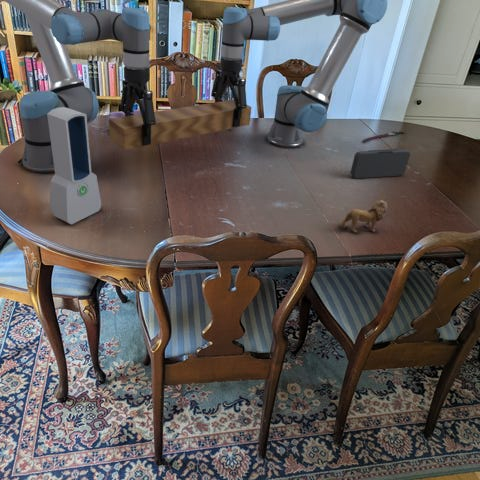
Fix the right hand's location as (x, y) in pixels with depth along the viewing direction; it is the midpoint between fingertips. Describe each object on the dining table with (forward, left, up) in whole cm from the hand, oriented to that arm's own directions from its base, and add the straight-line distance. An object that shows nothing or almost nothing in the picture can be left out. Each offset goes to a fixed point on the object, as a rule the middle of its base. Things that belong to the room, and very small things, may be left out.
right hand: (226, 121), depth 171 cm
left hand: (+30, -22, 0) cm, 37 cm away
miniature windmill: (-34, -10, -14) cm, 38 cm away
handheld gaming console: (-8, +58, -14) cm, 60 cm away
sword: (-55, +62, -14) cm, 84 cm away
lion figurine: (+35, +52, -14) cm, 64 cm away
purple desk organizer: (-10, -41, -14) cm, 44 cm away
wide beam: (+15, -11, -1) cm, 19 cm away
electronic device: (+58, -29, -14) cm, 66 cm away
